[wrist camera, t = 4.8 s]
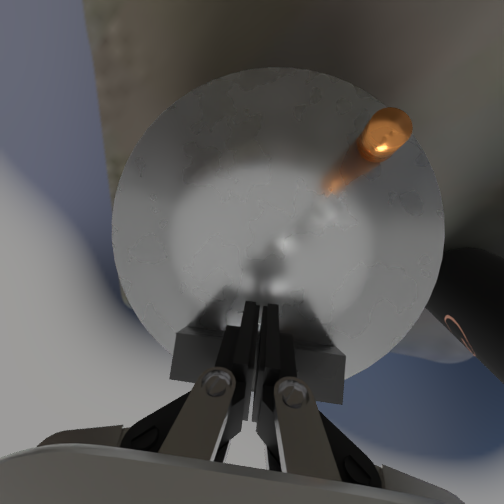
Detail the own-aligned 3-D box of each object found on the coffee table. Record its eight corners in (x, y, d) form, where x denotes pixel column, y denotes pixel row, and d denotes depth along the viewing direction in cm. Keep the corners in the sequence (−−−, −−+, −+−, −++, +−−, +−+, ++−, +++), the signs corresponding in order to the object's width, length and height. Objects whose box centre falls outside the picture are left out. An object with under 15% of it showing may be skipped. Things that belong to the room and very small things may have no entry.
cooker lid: (149, 71, 18) (126, 29, 15) (437, 93, 17) (475, 53, 14) (97, 359, 16) (58, 378, 13) (423, 406, 14) (465, 440, 12)
